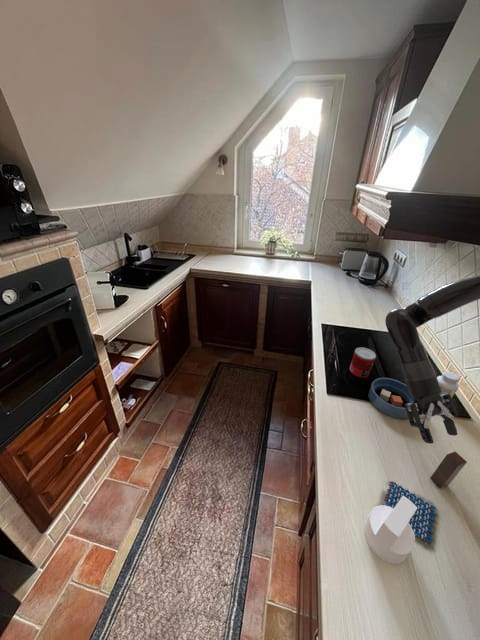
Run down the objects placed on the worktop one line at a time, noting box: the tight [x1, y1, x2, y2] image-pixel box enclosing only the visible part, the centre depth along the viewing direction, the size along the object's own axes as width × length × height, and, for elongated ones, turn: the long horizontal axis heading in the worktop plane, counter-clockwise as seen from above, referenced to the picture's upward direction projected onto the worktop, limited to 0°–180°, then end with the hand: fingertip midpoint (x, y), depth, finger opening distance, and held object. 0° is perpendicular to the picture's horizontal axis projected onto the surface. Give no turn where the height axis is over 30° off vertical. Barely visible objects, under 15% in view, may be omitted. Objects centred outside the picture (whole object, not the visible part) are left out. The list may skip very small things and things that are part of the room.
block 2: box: [389, 394, 404, 408], centre depth 93 cm, size 3×3×3 cm
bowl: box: [367, 377, 414, 419], centre depth 93 cm, size 15×15×6 cm
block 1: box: [378, 389, 392, 403], centre depth 95 cm, size 3×3×3 cm
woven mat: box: [382, 480, 437, 545], centre depth 63 cm, size 10×11×2 cm
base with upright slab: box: [363, 496, 417, 565], centre depth 56 cm, size 9×9×12 cm
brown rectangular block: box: [429, 451, 468, 490], centre depth 67 cm, size 3×3×12 cm
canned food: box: [349, 346, 377, 379], centre depth 106 cm, size 8×8×11 cm
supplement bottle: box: [436, 370, 460, 399], centre depth 93 cm, size 7×7×13 cm
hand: (441, 438), depth 67 cm, fingers open, 8 cm apart
